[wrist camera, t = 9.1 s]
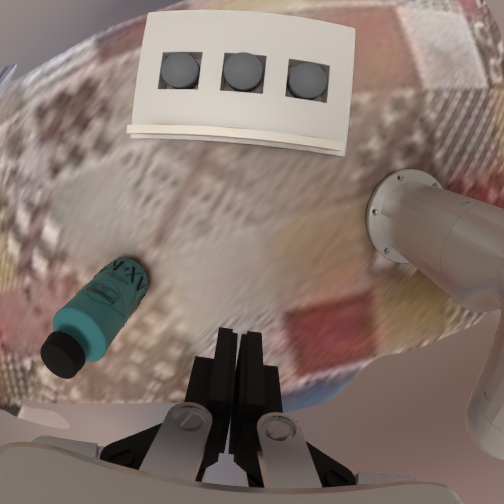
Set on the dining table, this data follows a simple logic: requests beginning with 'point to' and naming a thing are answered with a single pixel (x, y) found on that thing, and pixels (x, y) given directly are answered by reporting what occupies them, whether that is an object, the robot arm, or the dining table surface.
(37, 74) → the dining table surface
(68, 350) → the beverage bottle
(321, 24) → the button panel
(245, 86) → the button middle
